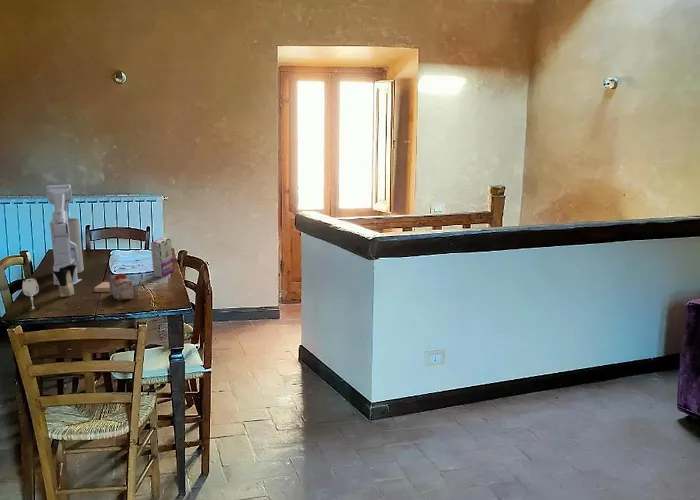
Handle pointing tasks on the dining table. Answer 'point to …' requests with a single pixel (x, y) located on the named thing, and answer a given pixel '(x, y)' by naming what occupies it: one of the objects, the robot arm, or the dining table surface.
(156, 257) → the candy bar box
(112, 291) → the food item
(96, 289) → the terracotta tile
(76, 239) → the cylinder vase
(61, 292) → the beech stick
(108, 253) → the dining table surface
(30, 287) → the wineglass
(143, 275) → the dining table surface
